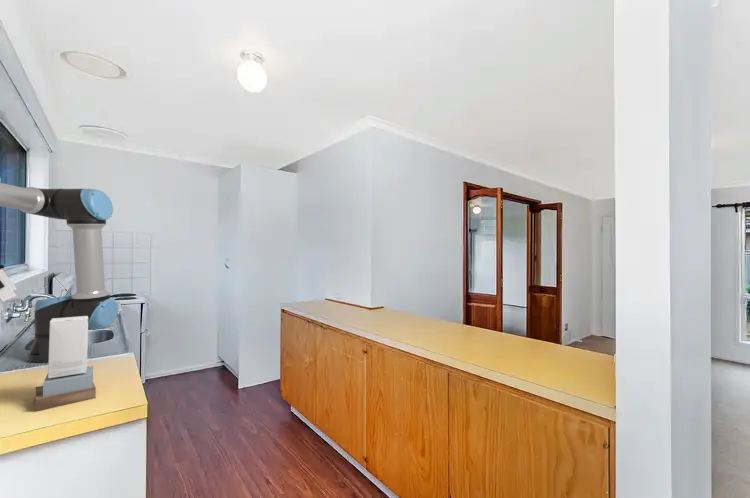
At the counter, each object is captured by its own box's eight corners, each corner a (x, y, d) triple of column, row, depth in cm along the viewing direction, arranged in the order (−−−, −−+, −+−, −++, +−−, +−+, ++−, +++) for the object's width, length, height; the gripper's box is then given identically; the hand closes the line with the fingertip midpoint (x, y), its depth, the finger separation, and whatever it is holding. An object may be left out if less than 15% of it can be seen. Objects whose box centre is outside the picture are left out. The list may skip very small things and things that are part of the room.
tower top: (47, 385, 100) (47, 373, 100) (93, 377, 106) (93, 366, 106) (43, 397, 92) (43, 383, 92) (92, 388, 98) (92, 375, 98)
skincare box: (86, 368, 103) (89, 315, 104) (86, 373, 98) (89, 317, 99) (47, 373, 98) (51, 317, 99) (45, 379, 93) (49, 320, 94)
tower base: (35, 399, 98) (35, 387, 98) (90, 388, 107) (90, 376, 107) (35, 414, 90) (36, 400, 90) (95, 400, 98) (95, 387, 98)
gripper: (-59, 229, 94) (-6, 295, 102) (-77, 230, 77) (-11, 310, 85) (-21, 217, 99) (27, 282, 107) (-30, 217, 82) (28, 294, 89)
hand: (10, 294), depth 96 cm, fingers open, 13 cm apart
